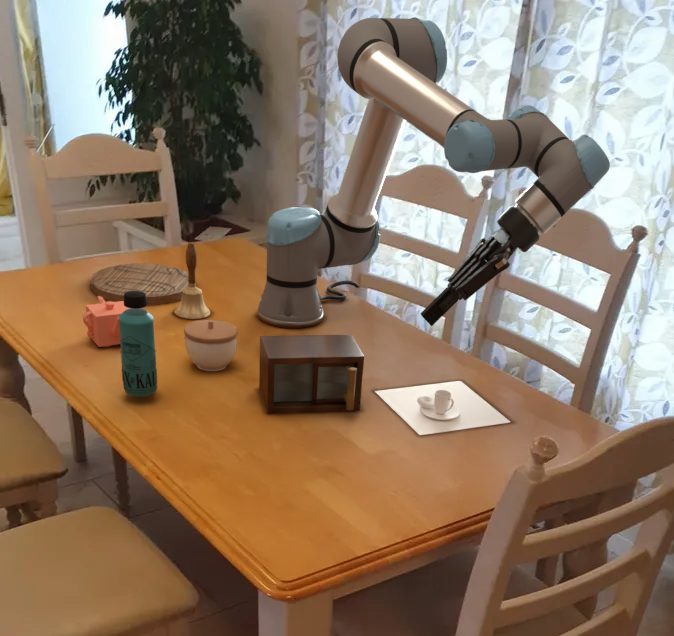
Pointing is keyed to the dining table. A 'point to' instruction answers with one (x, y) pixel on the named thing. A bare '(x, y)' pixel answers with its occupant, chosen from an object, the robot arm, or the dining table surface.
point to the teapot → (104, 322)
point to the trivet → (140, 282)
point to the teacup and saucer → (441, 407)
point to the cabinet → (303, 370)
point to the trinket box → (210, 343)
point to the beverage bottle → (137, 346)
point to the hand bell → (192, 291)
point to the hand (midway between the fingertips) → (426, 319)
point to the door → (334, 383)
